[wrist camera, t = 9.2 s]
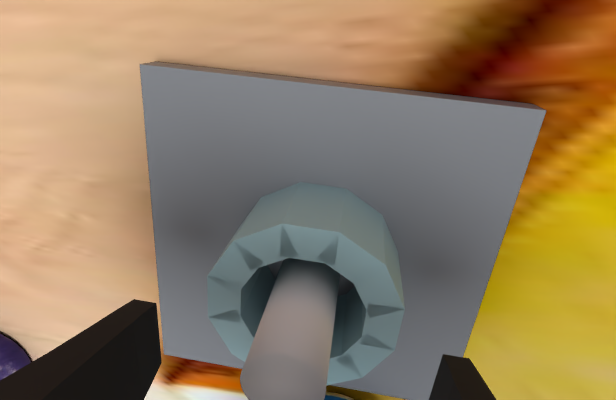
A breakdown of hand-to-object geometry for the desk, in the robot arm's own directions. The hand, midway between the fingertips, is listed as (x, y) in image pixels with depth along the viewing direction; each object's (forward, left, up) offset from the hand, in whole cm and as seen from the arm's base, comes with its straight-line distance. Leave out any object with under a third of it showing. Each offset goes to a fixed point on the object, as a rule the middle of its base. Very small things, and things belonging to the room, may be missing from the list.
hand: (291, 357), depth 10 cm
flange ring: (0, 0, -5) cm, 5 cm away
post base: (0, 0, -6) cm, 6 cm away
